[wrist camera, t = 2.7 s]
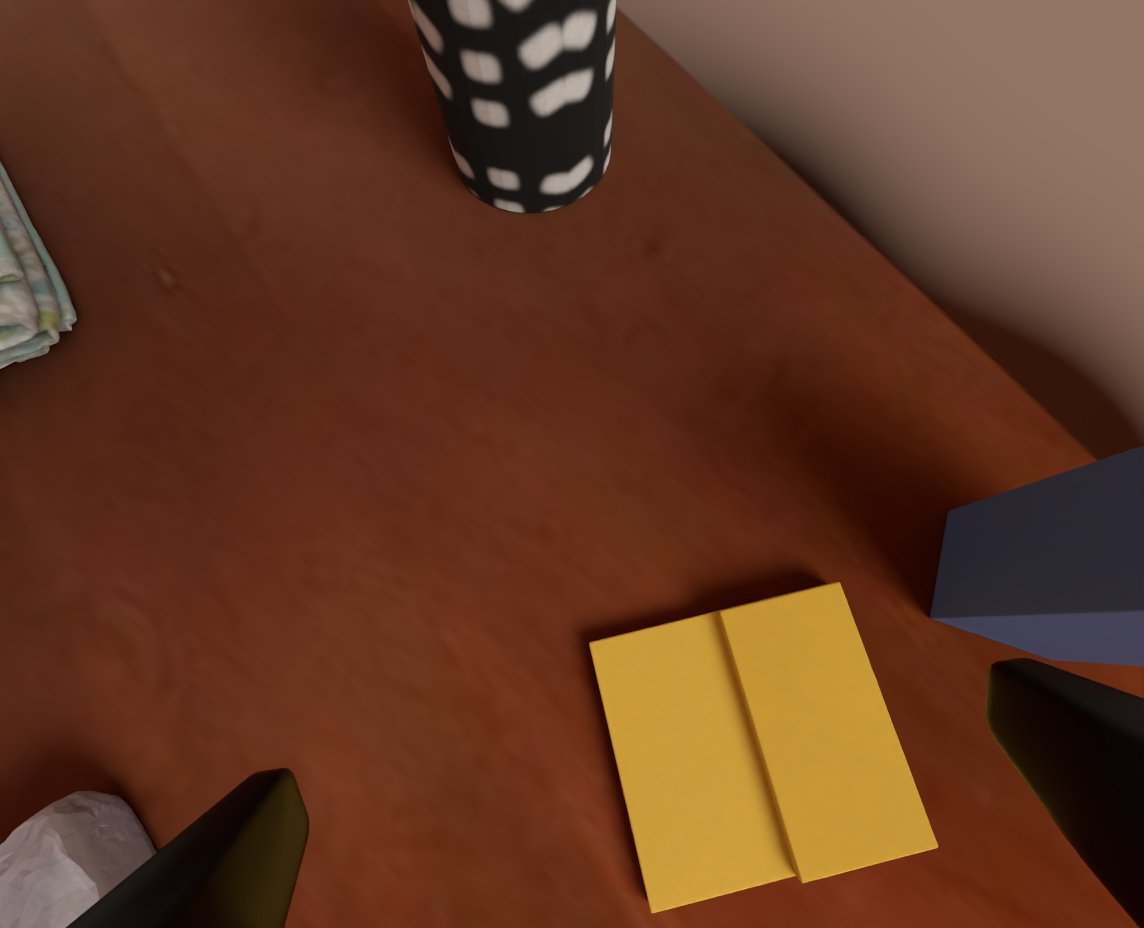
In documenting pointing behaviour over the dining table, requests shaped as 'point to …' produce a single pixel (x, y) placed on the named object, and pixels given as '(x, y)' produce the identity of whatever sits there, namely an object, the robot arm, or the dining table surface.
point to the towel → (27, 285)
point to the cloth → (755, 748)
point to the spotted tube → (523, 94)
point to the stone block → (68, 859)
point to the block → (1052, 565)
